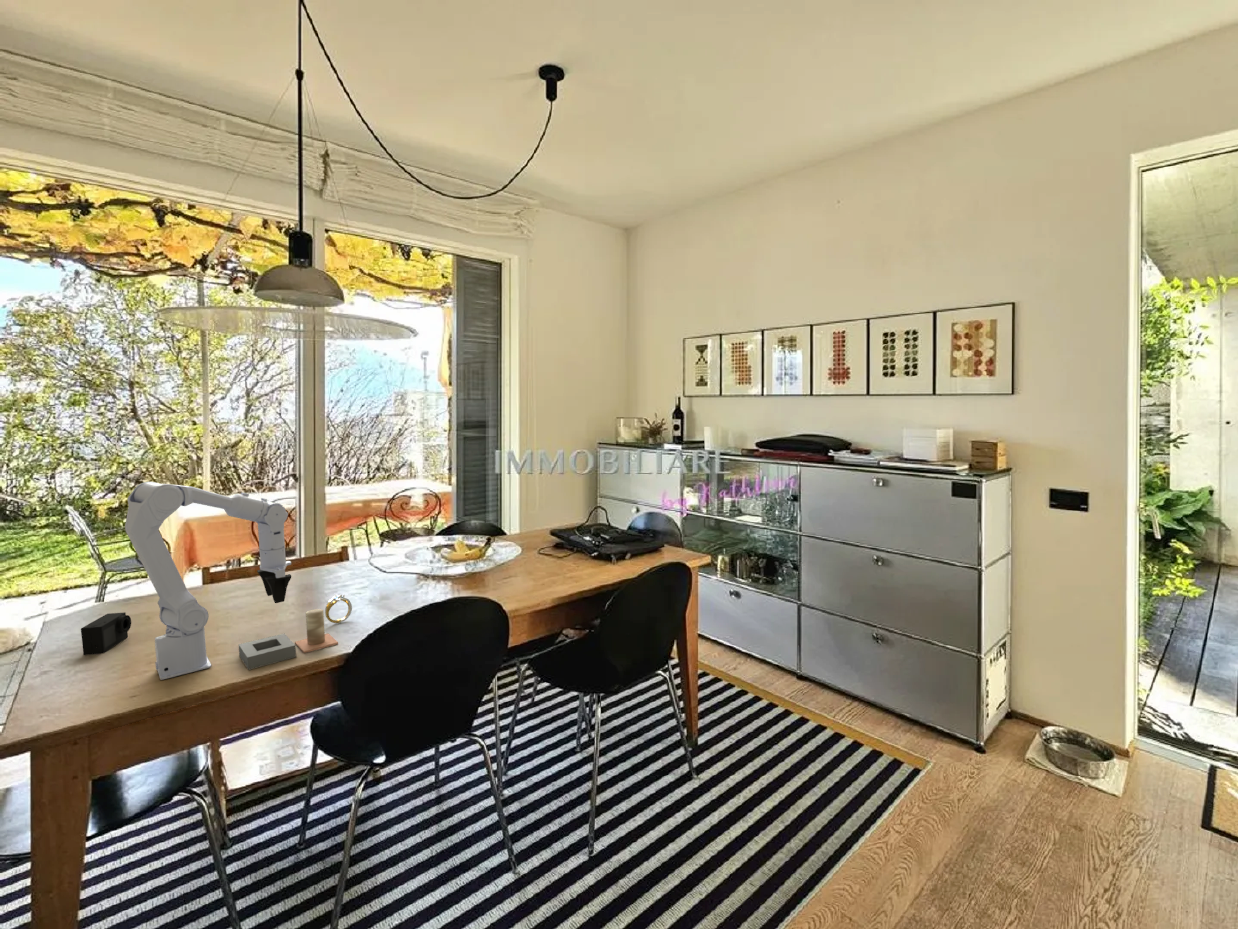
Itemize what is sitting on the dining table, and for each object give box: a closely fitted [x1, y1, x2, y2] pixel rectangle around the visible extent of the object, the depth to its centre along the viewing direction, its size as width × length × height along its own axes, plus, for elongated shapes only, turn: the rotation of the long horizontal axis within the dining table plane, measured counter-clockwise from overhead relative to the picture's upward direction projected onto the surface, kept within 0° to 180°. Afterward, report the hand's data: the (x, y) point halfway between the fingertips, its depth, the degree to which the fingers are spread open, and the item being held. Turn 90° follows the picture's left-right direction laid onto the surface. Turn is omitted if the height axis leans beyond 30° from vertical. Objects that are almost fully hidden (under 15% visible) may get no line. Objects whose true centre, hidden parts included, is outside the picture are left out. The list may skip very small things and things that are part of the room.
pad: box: [294, 632, 339, 654], centre depth 150 cm, size 8×8×1 cm
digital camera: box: [80, 612, 132, 656], centre depth 149 cm, size 10×5×7 cm, turn 13°
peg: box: [305, 608, 326, 645], centre depth 149 cm, size 4×4×8 cm
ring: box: [324, 594, 353, 624], centre depth 163 cm, size 7×3×8 cm, turn 132°
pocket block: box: [238, 632, 297, 671], centre depth 142 cm, size 10×10×3 cm
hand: (275, 598), depth 153 cm, fingers open, 7 cm apart
